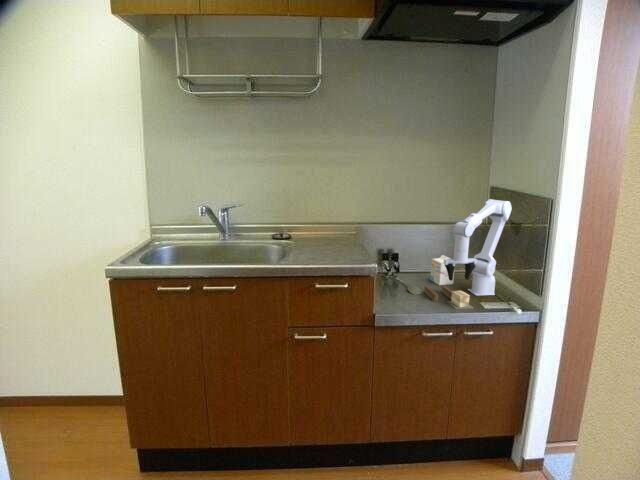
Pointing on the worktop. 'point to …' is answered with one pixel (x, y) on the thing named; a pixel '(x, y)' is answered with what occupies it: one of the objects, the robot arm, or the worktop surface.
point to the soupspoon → (412, 288)
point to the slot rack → (434, 295)
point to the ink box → (440, 271)
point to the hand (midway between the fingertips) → (458, 279)
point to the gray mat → (459, 307)
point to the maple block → (460, 298)
